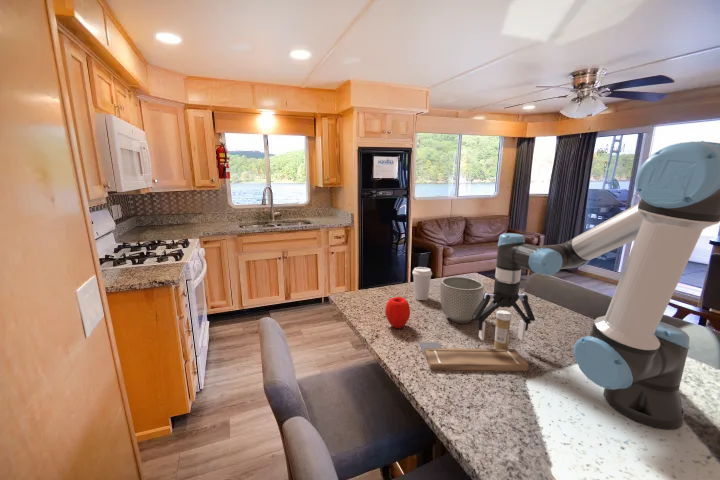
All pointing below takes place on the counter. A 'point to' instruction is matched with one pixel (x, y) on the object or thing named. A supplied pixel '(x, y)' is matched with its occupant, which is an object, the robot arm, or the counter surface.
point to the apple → (397, 311)
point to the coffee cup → (421, 282)
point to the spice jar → (502, 329)
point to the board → (475, 359)
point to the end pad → (429, 345)
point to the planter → (460, 297)
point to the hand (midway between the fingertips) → (501, 338)
